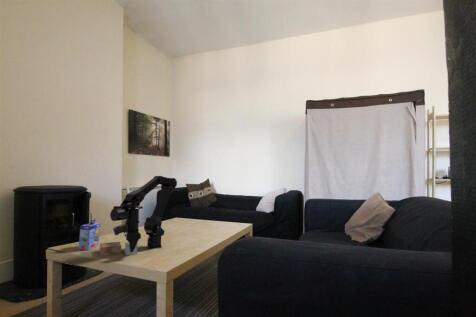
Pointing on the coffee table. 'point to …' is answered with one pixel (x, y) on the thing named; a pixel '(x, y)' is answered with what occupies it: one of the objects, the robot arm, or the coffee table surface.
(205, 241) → the coffee table surface
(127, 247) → the slate cube
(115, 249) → the walnut block
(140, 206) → the robot arm
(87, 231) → the ink cartridge box
